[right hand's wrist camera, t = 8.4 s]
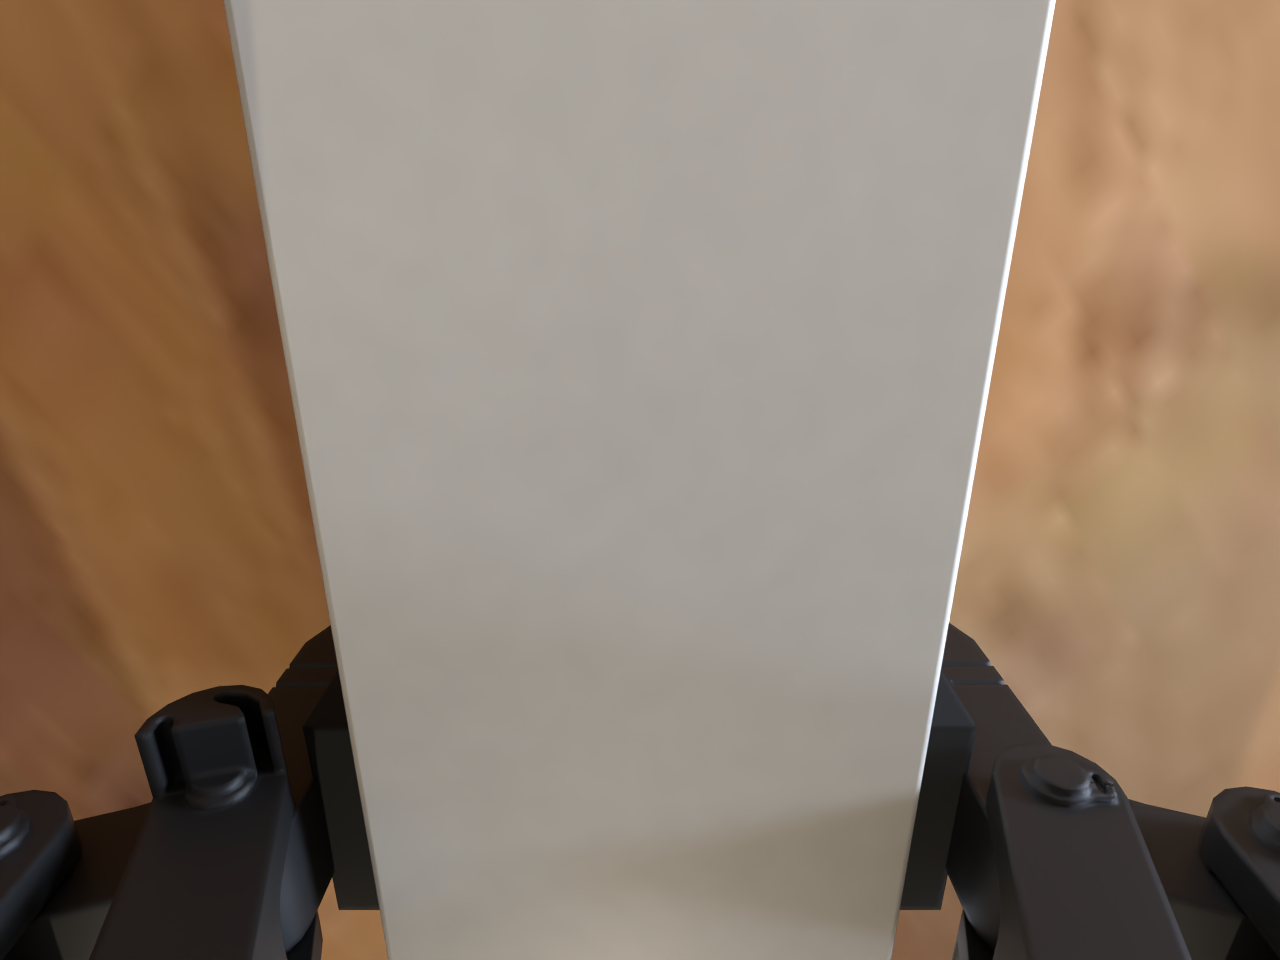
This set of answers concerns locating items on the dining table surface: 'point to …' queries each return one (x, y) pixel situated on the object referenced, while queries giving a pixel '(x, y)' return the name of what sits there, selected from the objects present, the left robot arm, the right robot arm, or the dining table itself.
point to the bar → (639, 440)
